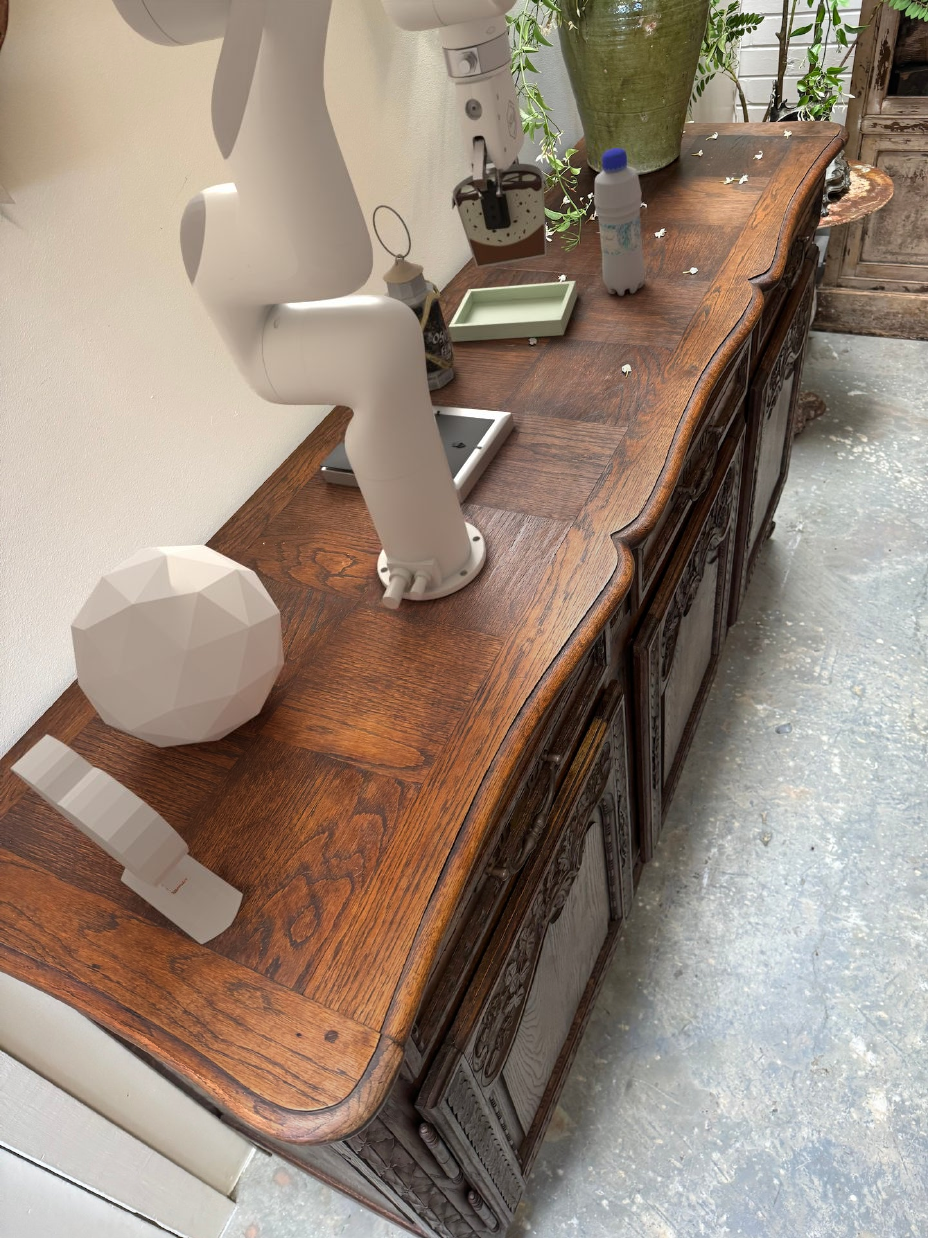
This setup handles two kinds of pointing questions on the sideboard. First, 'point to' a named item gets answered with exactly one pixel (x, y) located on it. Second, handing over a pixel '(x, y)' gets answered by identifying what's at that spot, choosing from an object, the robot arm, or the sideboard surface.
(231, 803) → the sideboard surface
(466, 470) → the picture frame
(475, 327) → the tray
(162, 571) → the ball
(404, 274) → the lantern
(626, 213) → the bottle
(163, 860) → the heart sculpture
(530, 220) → the food container
